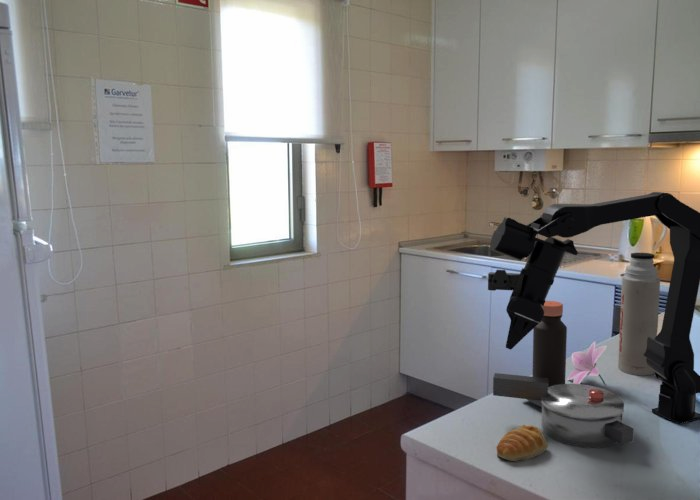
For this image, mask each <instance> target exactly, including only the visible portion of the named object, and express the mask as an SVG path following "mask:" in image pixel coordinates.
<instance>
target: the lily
mask: <svg viewBox="0 0 700 500" xmlns="http://www.w3.org/2000/svg"><path fill="white" fill-rule="evenodd" d="M607 347H608V345H602V346H599V347H596V340H595V341H593V342H592V343H591V345H590V346H589V347H588V348H587V350H586V352H584V351H574V352H572V353H571V363H572V365H573V367H575V368H574V369H573V370H572V371H571V372H570V373H569V375H568V377H567V378H566V380H567V381H570V380H572V379H573V380H572V381H573V383H572V384H581V382H582V381H583V380H584V378H585V377H586V376H590V377H592V376H593V377H595V376H596V377H597V376H598V377H599V378H600V380H601V381H602V383H603V384H604V385H605V384H606V383H605V380H604V379H603V377H602V376H601V374H600V372H599V369H598V368H599V367H598V365H597V363H596V362H597V360H598V359H599V357H600V356H601V355H602V354H603V353H604V352H605V351H606V349H607Z"/></svg>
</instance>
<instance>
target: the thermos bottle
mask: <svg viewBox="0 0 700 500" xmlns="http://www.w3.org/2000/svg"><path fill="white" fill-rule="evenodd" d="M654 259H655V254H654V253H649V252H631V253H630V261H629V265H627V266H626V267H625V270H624V272H625V274H624V275H622V276H621V294H620V296H621V297H620V316H619V317H620V318H619V319H620V320H619V336H618V338H619V339H618V342H619V343H618V357H617V358H618V360H617V361H618V362H617V368H618V370H619V371H621V372H624V373H627V374H629V375H636V376H650V375H653V373H654V371H653V370H651V369H650V367H649V366H648V365H647V362H646V357H645V356H644V353H645V352H646V349H647V339H648V337H652V338H655V337H656V336H657V335H658V327H659V312H660V311H659V310H660V308H659V307H660V293H661V289H660V288H661V278H660V277H659V276H658V275H659V273H658V268H657V267H656V266H654Z"/></svg>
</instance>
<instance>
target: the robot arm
mask: <svg viewBox="0 0 700 500" xmlns="http://www.w3.org/2000/svg"><path fill="white" fill-rule="evenodd" d="M653 216H654V217H656V219H657V220H658V221H659V222H660V223H661V224H662V225H663V226H665V227H666V228H668V230H669V246H670V249H671V251H672V256H673V263H672V269H671V275H670V281H669V287H668V293H667V297H666V303H665V307H664V308H665V309H664V313H663V319H662V326H661V329H660V332H659V333H657V336H656V337H655V338H652V337H648V339H647V349H646V352H645V353H644V356H645V357H646V362H647V365H648V366H649V367H650V369H651V370H653V371H654V377H655V378H656V379H658V380H660V381H661V384H659V393H658V404H657V407H654V408H651V413H654V414H656V415H658V416H660V417H663V418H665V419H668V420H669V421H672V422H674V423H677V424H680V425H681V424H685V423H689V422H693V421H695V420H696V421H697V420H698V419H700V413H699V412H696V400H697V394H700V374H699V373H697V372H696V371H695V353H694V349H693V345H692V342H691V338H690V335H691V331H692V326H693V325H692V324H693V321H694V316H695V310H696V305H697V299H698V294H699V287H700V212H699V211H697V210H696V209H694V208H693V207H690V206H689V205H687V204H686V203H684V202H682V201H680V200H679V199H678V198H677V197H675V196H674V195H673V194H671V193H669V192H662V191H652V192H651V193H648V194H643V195H637V196H631V197H627V198H626V197H624V198H619V199H613V200H609V201H608V200H607V201H602V202H598V203H597V202H596V203H590V204H587V203H586V204H585V203H584V204H583V203H581V204H580V203H554V204H550V205H549V206H547V207H546V208H545V209H544V211H543V213H542V214H541V215H540V216H538V217H537V218H536V219H534V220H532V221H531V222H530V223H527V224H524V223H521V222H518V221H517V220H515V219H514V218H511V217H508V216H504V217H503V219H502V222H501V223H500V224H499V225H497V228H496V229H495V230H494V231H493V234H492V236H491V239H490V243H489V248H490V250H491V251H493V252H496V253H498V254H500V255H503V256H507V257H509V258H511V259H515V260H517V261H521V260H523V259H524V258H526V259H527V260H526V263H525V265H524V267H522V268H521V270H520V272H519V273H514V272H507V271H506V269H496V270H495V272H494V271H493V272H489V273H488V274H487V291H494V292H495V291H496V290H500V291H511V295H510V296H509V300H508V304H507V305H506V310H505V311H506V314H507V316H508V317H509V319H510V322H509V323H510V324H509V328H508V332H507V337H506V338H507V339H506V343H505V349H508V350H513V349H514V348H515V346H517V344H519V343H520V341H522V340H523V339H524V338H525V337H526V336H527V335H528V334H529V333H530V332H531V331H533V328H534V327H536V326H537V325H538V324H539V322H541V320H542V317H543V315H544V309H543V307H542V306H544V303H545V301H546V299H547V296H548V294H549V291H550V290H551V287H552V286H553V284H554V281H555V278H556V274H557V273H558V271H559V269H560V265H561V263H562V262H563V259H564V256H565V254H566V253H568V254H572V255H574V256H577V255H578V254H579V252H578V250H577V248H576V246H575V245H574V240H571V239H569V238H573V237H576V236H578V235H581V234H584V233H587V232H589V231H590V230H592V229H594V228H596V227H598V226H601V225H607V224H612V223H618V222H624V221H630V220H636V219H641V218H646V217H653ZM537 235H540V236H542V237H545V238H546V239H542V238H538V237H537ZM557 236H558V237H560V238H565V239H566V238H567V239H566V240H560V239H558V238H555V237H557Z"/></svg>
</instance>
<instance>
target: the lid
mask: <svg viewBox="0 0 700 500" xmlns="http://www.w3.org/2000/svg"><path fill="white" fill-rule="evenodd" d="M492 378H493V379H492V381H493V382H492V384H493V385H492V396H495V397H504V398H513V399H522V400H523V399H524V400H527V399H530V400H539V401H541V402H542V404H543V405H544V406H545V407H546V408H547V409H549V410H550V411H552V412H554V413H556V414H559V415H562V416H565V417H569V418H574V419H580V420H591V421H599V420H609V419H613V418H616V417H618V416H620V415H621V414H622V415H623V413H624V411H625V403H624V400H623V398H622V397H620V396H619V395H618V394H616V393H615V392H612V391H610V390H607V389H605V388H603V387H598V386H594V385H590V384H583V383H582V384H581V383H580V384H573V383H565V384H559V385H553V386H550V387H548V378H540V377H532V376H527V375H517V374H509V373H508V374H507V373H499V372H498V373H497V372H495V373H494V375H493V377H492Z"/></svg>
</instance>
